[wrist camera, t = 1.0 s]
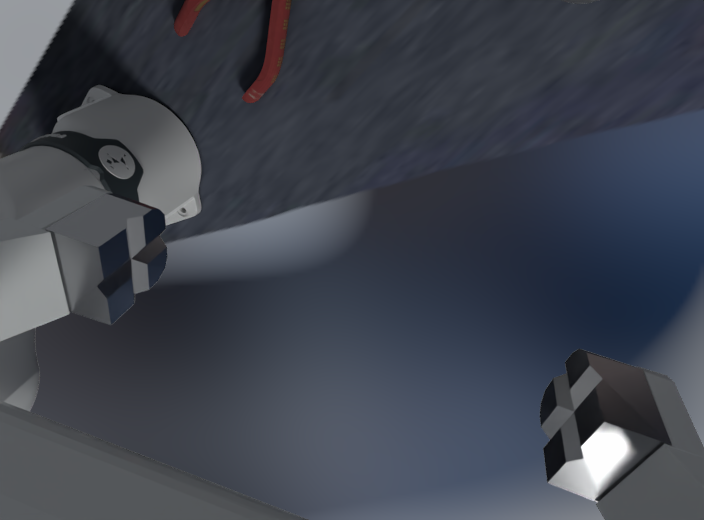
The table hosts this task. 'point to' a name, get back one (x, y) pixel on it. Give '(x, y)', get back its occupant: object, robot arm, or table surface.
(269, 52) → the pliers
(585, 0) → the plastic bottle
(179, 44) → the table surface
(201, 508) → the robot arm
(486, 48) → the table surface
